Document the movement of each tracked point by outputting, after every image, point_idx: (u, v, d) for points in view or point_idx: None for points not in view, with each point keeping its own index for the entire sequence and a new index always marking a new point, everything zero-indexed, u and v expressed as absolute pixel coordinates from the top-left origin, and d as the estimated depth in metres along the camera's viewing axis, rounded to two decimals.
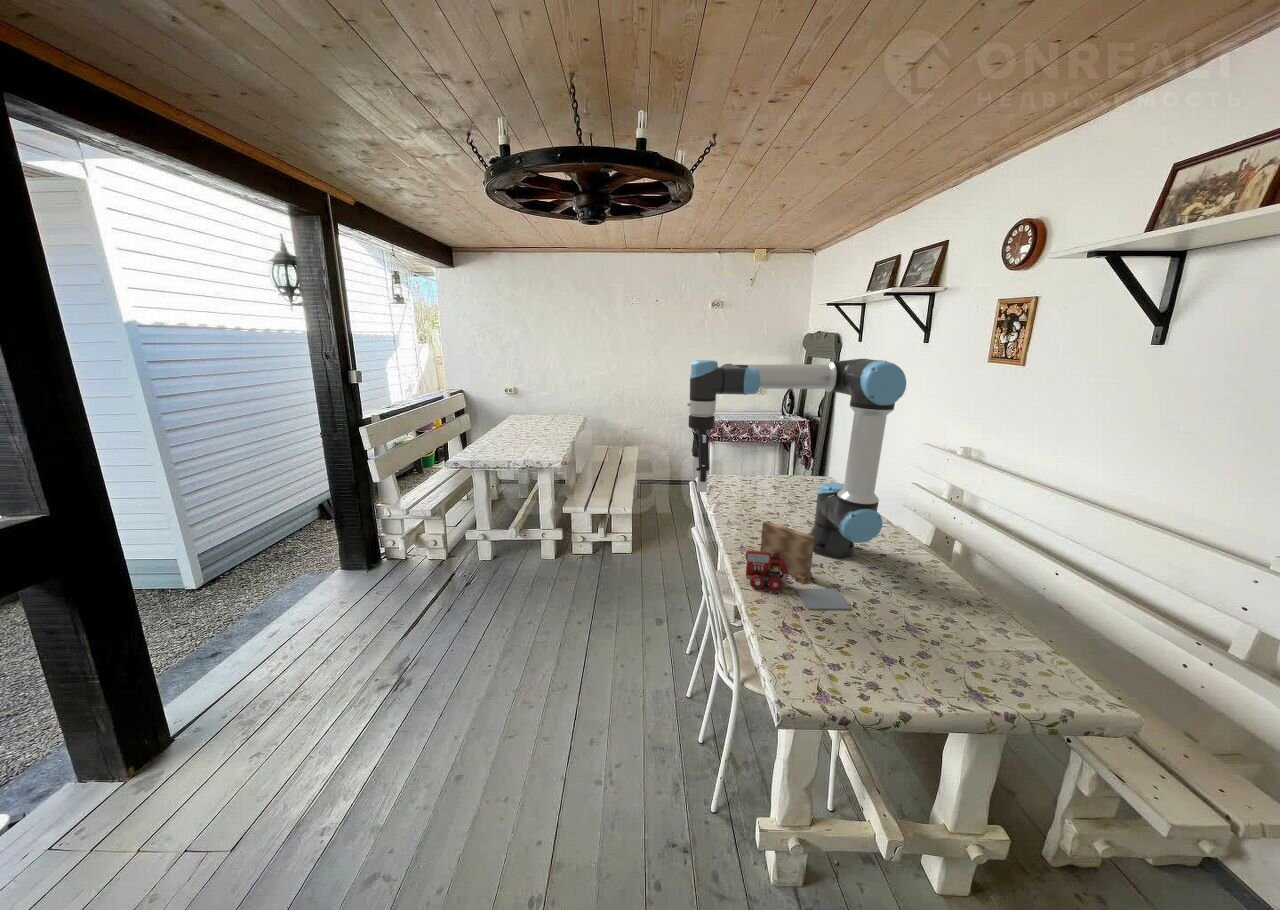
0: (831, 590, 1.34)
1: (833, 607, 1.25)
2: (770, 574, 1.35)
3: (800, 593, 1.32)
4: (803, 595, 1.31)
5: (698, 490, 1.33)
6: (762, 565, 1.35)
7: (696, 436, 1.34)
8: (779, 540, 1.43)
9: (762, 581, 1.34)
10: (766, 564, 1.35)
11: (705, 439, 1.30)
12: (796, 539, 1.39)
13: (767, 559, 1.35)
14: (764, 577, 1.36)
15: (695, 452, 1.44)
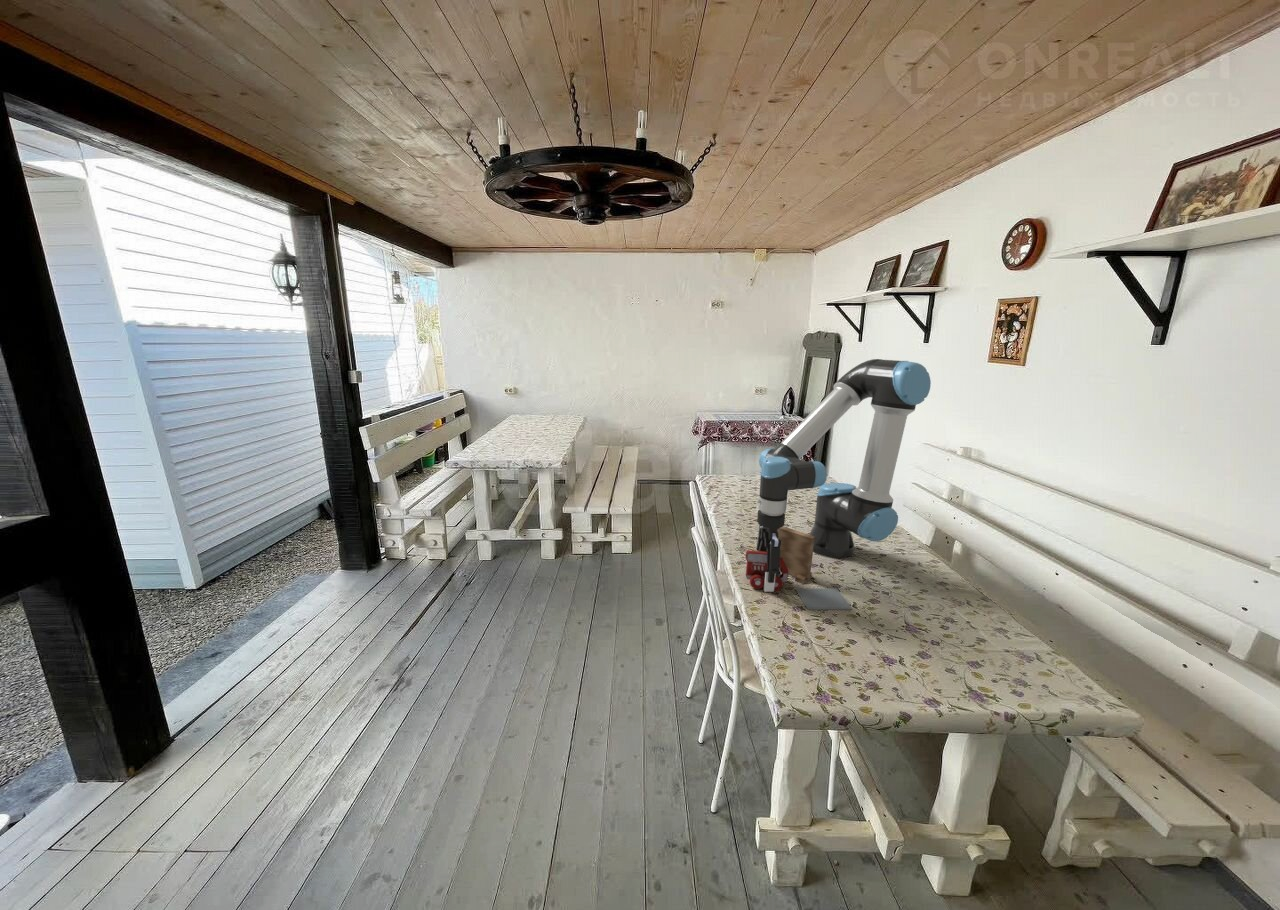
0: (831, 590, 1.34)
1: (833, 607, 1.25)
2: None
3: (800, 593, 1.32)
4: (803, 595, 1.31)
5: (765, 590, 1.33)
6: (762, 565, 1.35)
7: (766, 534, 1.31)
8: None
9: (762, 581, 1.34)
10: (766, 564, 1.35)
11: (777, 544, 1.27)
12: (796, 539, 1.39)
13: None
14: (764, 577, 1.36)
15: (761, 550, 1.39)
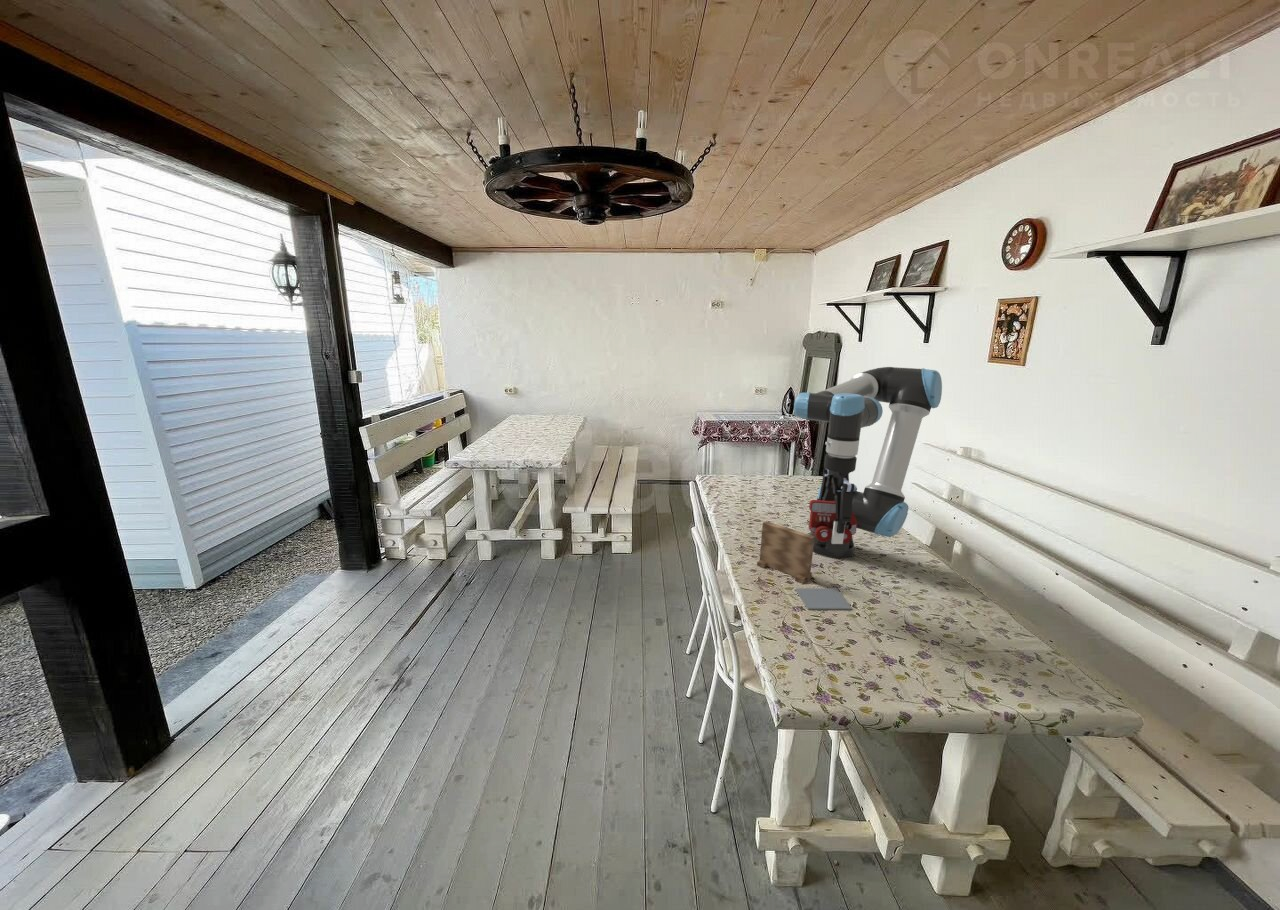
0: (831, 590, 1.34)
1: (833, 607, 1.25)
2: None
3: (800, 593, 1.32)
4: (803, 595, 1.31)
5: (833, 542, 1.21)
6: (828, 516, 1.23)
7: (835, 480, 1.19)
8: (779, 540, 1.43)
9: (829, 533, 1.21)
10: (833, 514, 1.23)
11: (850, 488, 1.15)
12: (796, 539, 1.39)
13: (834, 509, 1.23)
14: (830, 529, 1.24)
15: None
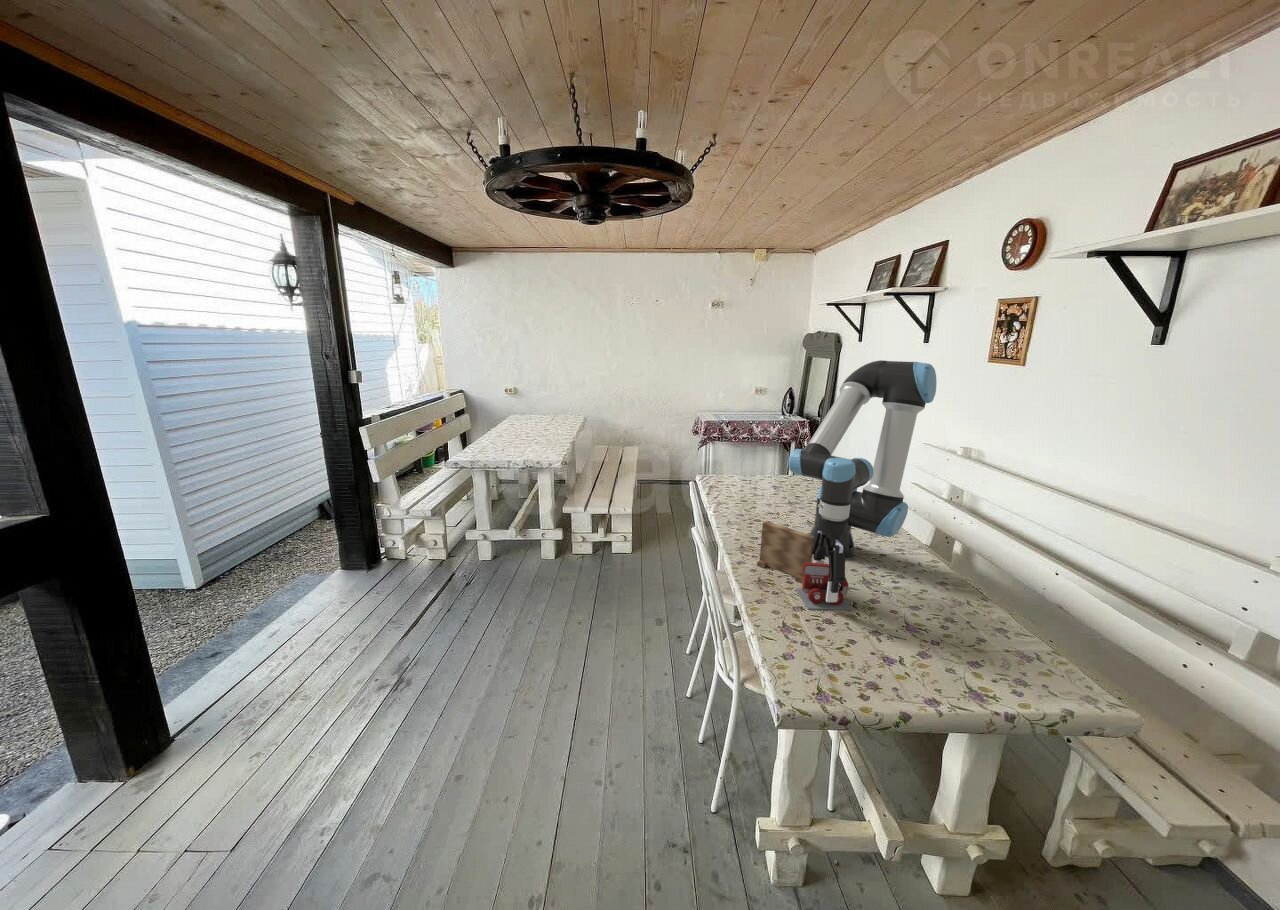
0: None
1: (833, 607, 1.25)
2: None
3: (800, 593, 1.32)
4: (803, 595, 1.31)
5: (828, 600, 1.24)
6: (821, 578, 1.28)
7: (827, 540, 1.23)
8: (779, 540, 1.43)
9: (822, 595, 1.26)
10: (825, 577, 1.28)
11: (842, 550, 1.19)
12: (796, 539, 1.39)
13: (826, 571, 1.27)
14: (823, 590, 1.29)
15: (818, 555, 1.32)
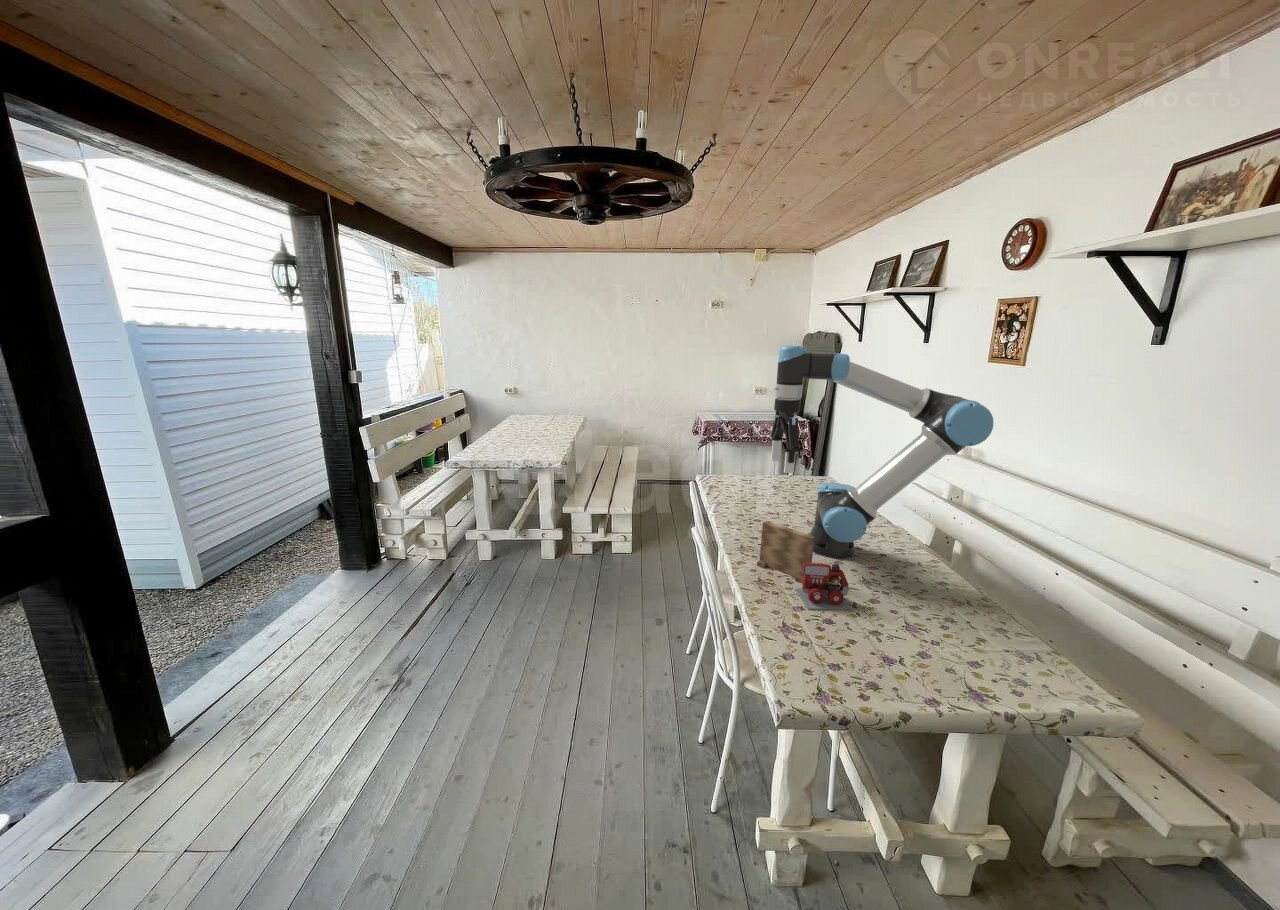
0: None
1: (833, 607, 1.25)
2: (829, 587, 1.28)
3: (800, 593, 1.32)
4: (803, 595, 1.31)
5: (785, 471, 1.38)
6: (821, 578, 1.28)
7: (782, 419, 1.39)
8: (779, 540, 1.43)
9: (822, 595, 1.26)
10: (825, 577, 1.28)
11: (794, 421, 1.34)
12: (796, 539, 1.39)
13: (826, 571, 1.27)
14: (823, 590, 1.29)
15: (776, 436, 1.49)
